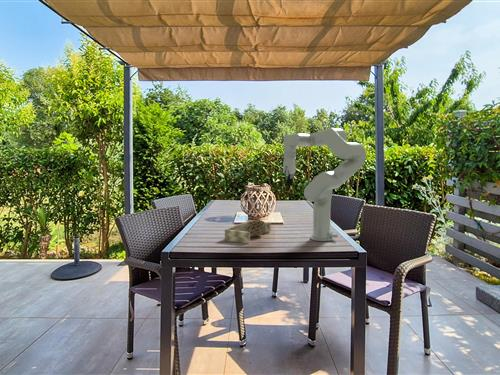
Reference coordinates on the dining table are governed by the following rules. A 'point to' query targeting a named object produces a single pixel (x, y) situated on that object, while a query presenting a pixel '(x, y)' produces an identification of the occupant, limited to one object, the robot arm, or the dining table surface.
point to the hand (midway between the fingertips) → (289, 185)
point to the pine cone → (255, 227)
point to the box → (242, 232)
